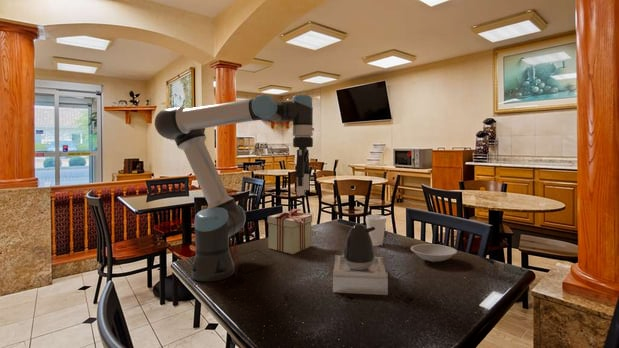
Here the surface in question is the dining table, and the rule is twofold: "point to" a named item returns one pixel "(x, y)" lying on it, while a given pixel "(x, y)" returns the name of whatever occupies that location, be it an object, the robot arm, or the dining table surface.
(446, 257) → the dish
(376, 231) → the foam cup
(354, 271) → the white tray
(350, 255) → the pump dispenser
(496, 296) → the dining table surface
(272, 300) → the dining table surface
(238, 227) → the robot arm
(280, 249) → the gift box
